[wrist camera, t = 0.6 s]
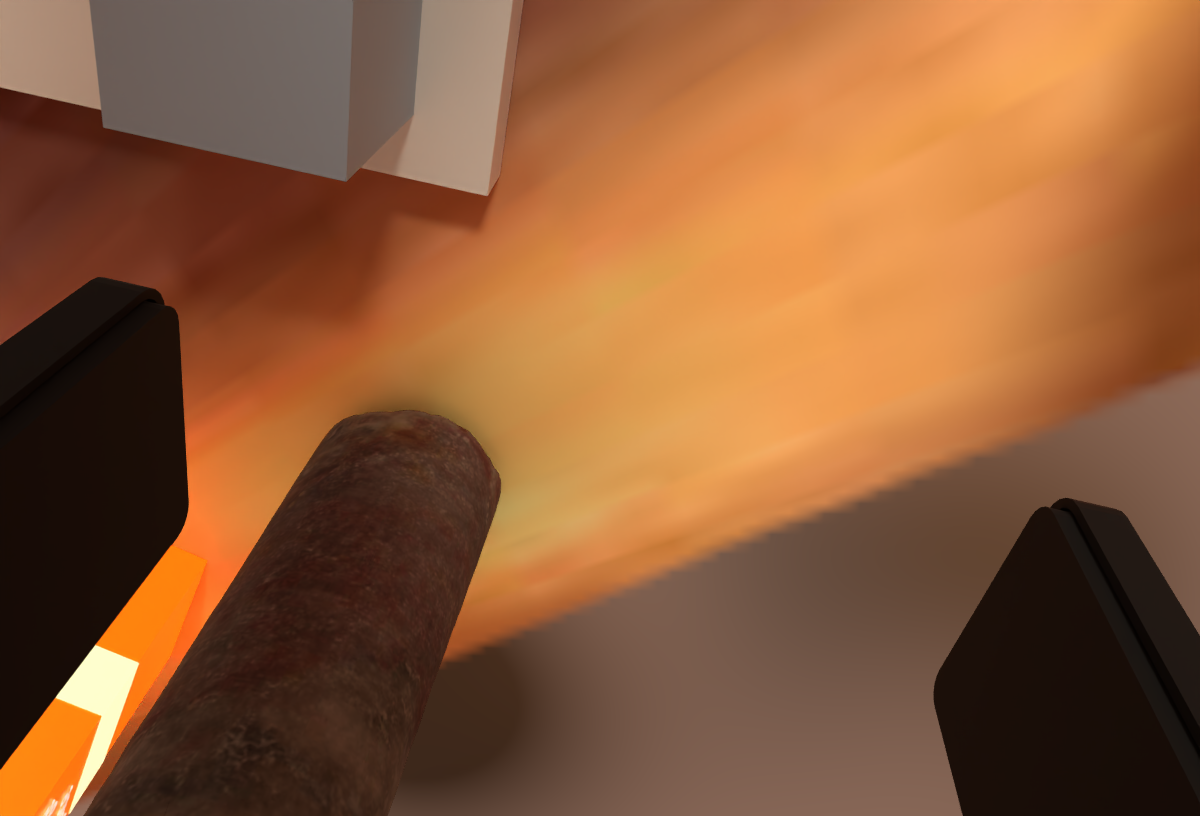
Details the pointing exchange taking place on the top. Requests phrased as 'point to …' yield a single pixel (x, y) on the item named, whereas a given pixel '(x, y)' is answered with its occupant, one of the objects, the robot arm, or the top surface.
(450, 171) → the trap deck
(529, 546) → the top surface
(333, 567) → the brown piece
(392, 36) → the block
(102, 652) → the orange juice
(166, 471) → the robot arm
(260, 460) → the top surface
